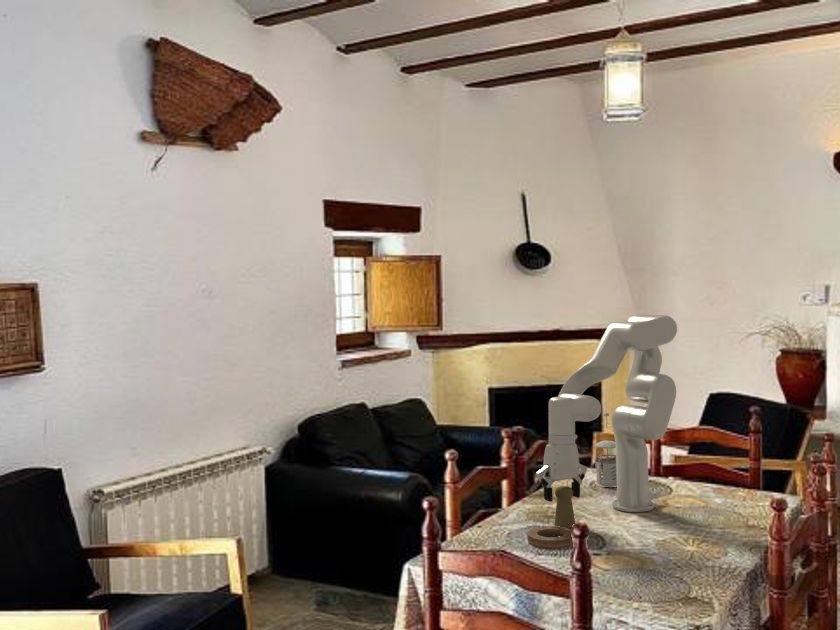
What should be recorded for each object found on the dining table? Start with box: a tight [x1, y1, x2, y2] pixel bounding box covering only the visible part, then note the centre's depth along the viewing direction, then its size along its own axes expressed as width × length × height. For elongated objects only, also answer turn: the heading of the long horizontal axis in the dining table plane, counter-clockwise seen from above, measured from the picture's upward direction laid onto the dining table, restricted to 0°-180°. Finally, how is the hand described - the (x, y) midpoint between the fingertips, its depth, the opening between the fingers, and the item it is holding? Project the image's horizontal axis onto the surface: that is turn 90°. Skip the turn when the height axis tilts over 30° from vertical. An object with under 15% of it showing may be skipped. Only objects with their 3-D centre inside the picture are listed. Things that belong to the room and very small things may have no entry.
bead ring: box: [526, 525, 573, 549], centre depth 225 cm, size 13×13×2 cm
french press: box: [594, 412, 617, 487], centre depth 282 cm, size 10×12×25 cm
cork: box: [554, 485, 576, 528], centre depth 239 cm, size 6×6×11 cm
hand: (562, 498), depth 238 cm, fingers open, 9 cm apart
